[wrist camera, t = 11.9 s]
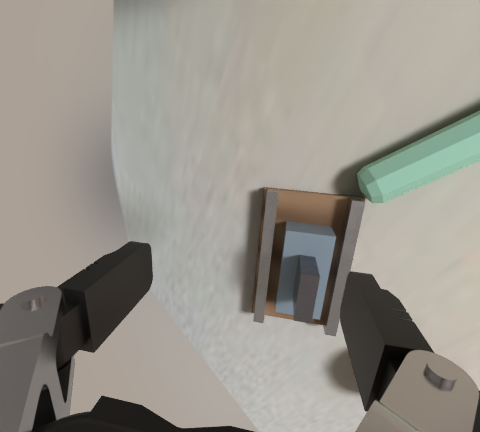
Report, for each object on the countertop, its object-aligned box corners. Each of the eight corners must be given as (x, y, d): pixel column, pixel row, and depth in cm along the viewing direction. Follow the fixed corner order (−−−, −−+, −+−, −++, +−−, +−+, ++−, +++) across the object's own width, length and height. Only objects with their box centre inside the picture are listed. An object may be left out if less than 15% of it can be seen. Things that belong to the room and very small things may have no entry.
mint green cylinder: (374, 209, 29) (683, 77, 21) (349, 163, 30) (633, 23, 22) (369, 213, 34) (612, 109, 27) (348, 174, 35) (574, 65, 28)
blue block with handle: (286, 220, 36) (285, 246, 27) (330, 226, 35) (344, 254, 26) (276, 295, 39) (273, 338, 31) (316, 302, 38) (325, 348, 30)
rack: (264, 187, 36) (262, 191, 33) (362, 197, 34) (369, 202, 31) (252, 308, 42) (250, 320, 39) (335, 323, 40) (339, 336, 37)
